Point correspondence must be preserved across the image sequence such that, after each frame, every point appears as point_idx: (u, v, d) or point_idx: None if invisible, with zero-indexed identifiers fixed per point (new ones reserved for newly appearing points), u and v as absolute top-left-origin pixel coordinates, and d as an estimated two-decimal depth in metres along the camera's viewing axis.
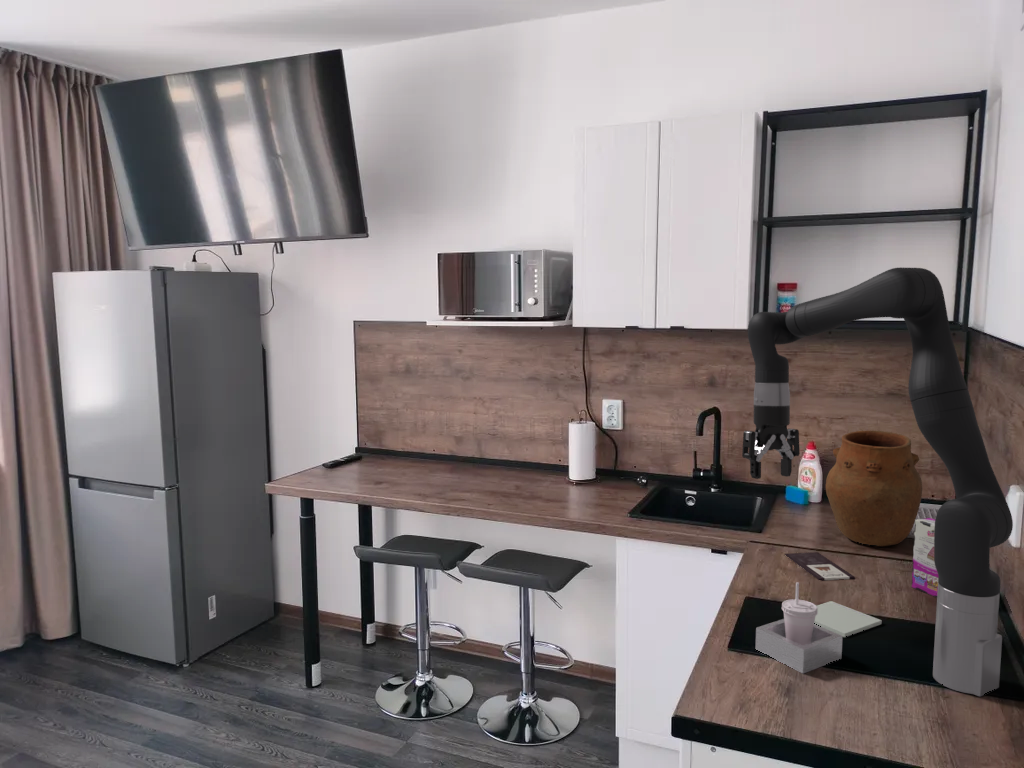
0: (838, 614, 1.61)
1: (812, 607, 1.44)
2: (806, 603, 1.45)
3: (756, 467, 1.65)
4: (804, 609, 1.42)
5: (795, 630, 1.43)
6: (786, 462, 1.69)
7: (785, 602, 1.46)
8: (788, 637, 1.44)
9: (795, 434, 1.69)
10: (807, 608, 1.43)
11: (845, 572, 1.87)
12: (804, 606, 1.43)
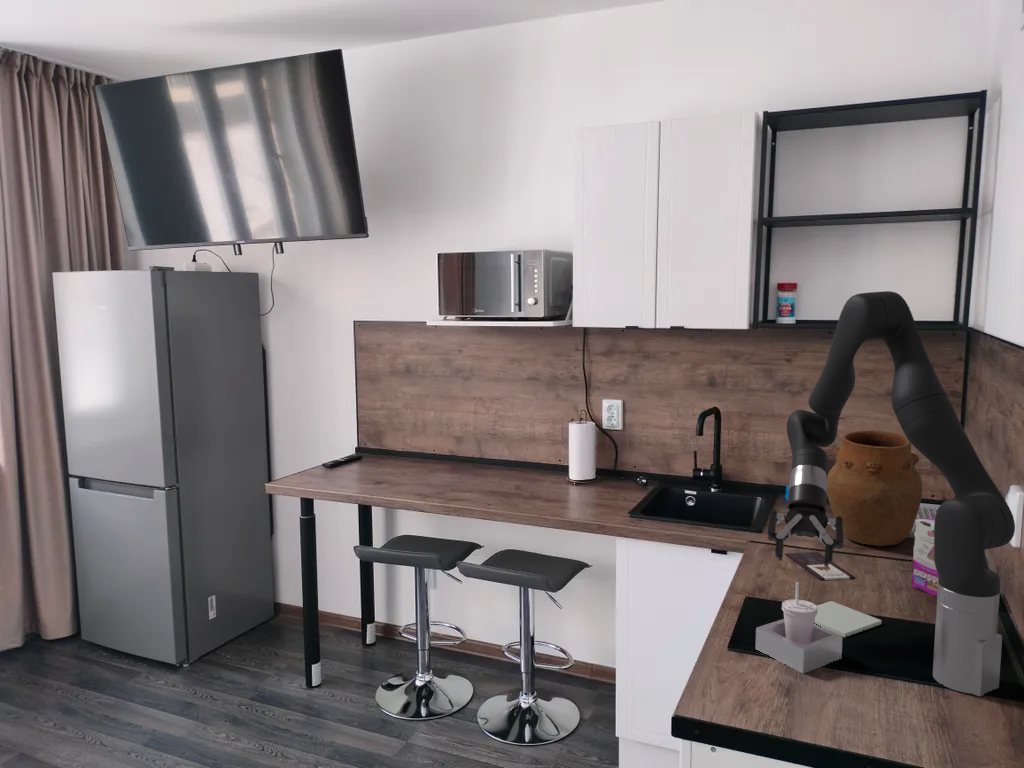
0: (838, 614, 1.61)
1: (812, 607, 1.44)
2: (806, 603, 1.45)
3: (778, 545, 1.54)
4: (804, 609, 1.42)
5: (795, 630, 1.43)
6: (825, 549, 1.51)
7: (785, 602, 1.46)
8: (788, 637, 1.44)
9: (837, 521, 1.54)
10: (807, 608, 1.43)
11: (845, 572, 1.87)
12: (804, 606, 1.43)
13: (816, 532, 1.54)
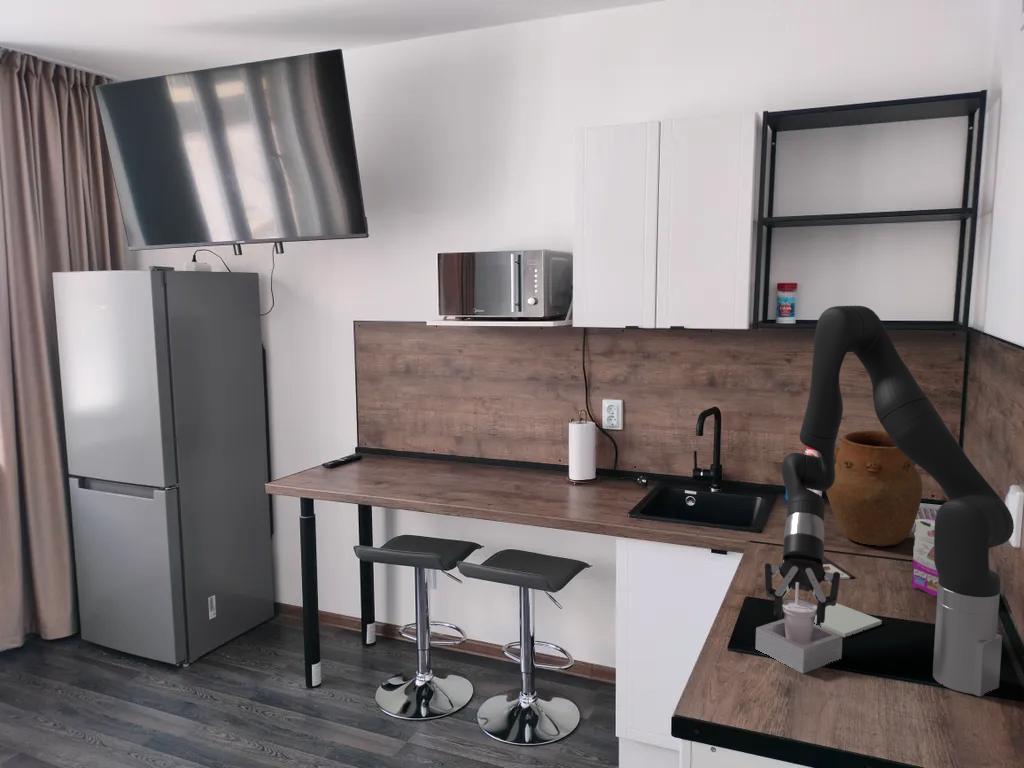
0: (838, 614, 1.61)
1: (812, 607, 1.44)
2: (806, 603, 1.45)
3: (776, 603, 1.45)
4: (804, 609, 1.42)
5: (795, 630, 1.43)
6: (817, 607, 1.43)
7: (785, 602, 1.46)
8: (788, 637, 1.44)
9: (834, 576, 1.45)
10: (807, 608, 1.43)
11: (845, 572, 1.87)
12: (804, 606, 1.43)
13: (810, 586, 1.46)
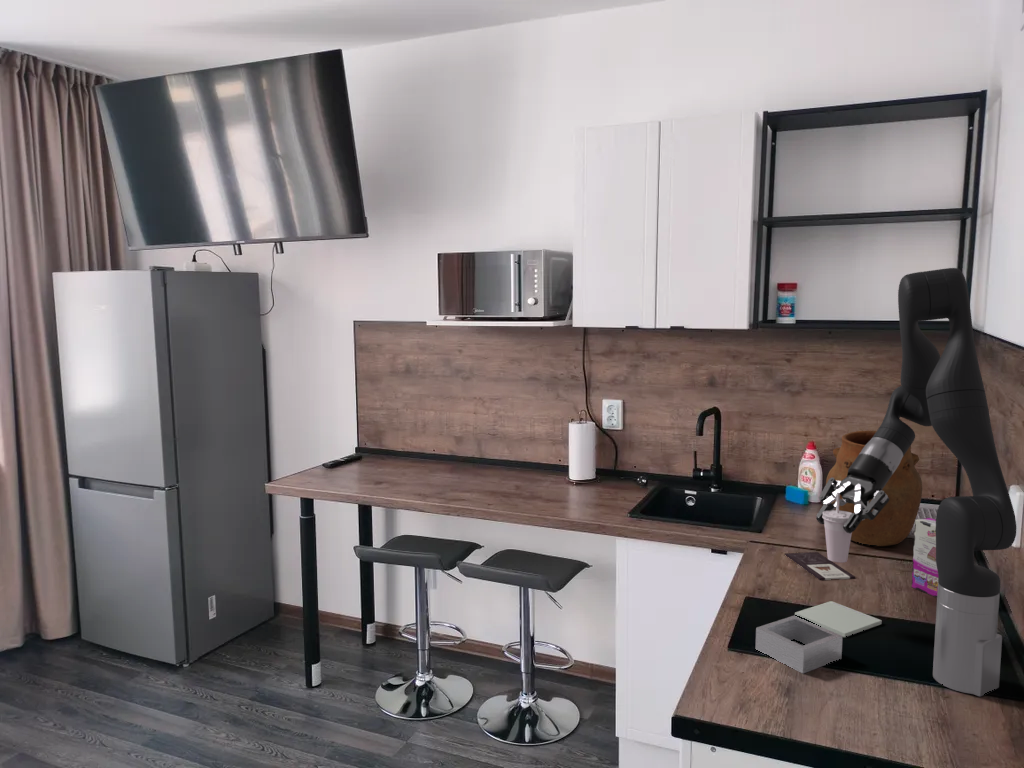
0: (838, 614, 1.61)
1: (848, 516, 1.56)
2: (849, 514, 1.57)
3: (822, 509, 1.61)
4: (836, 516, 1.56)
5: (827, 533, 1.57)
6: None
7: (831, 510, 1.60)
8: (826, 540, 1.59)
9: (878, 494, 1.54)
10: (841, 516, 1.56)
11: (845, 572, 1.87)
12: (840, 514, 1.57)
13: None
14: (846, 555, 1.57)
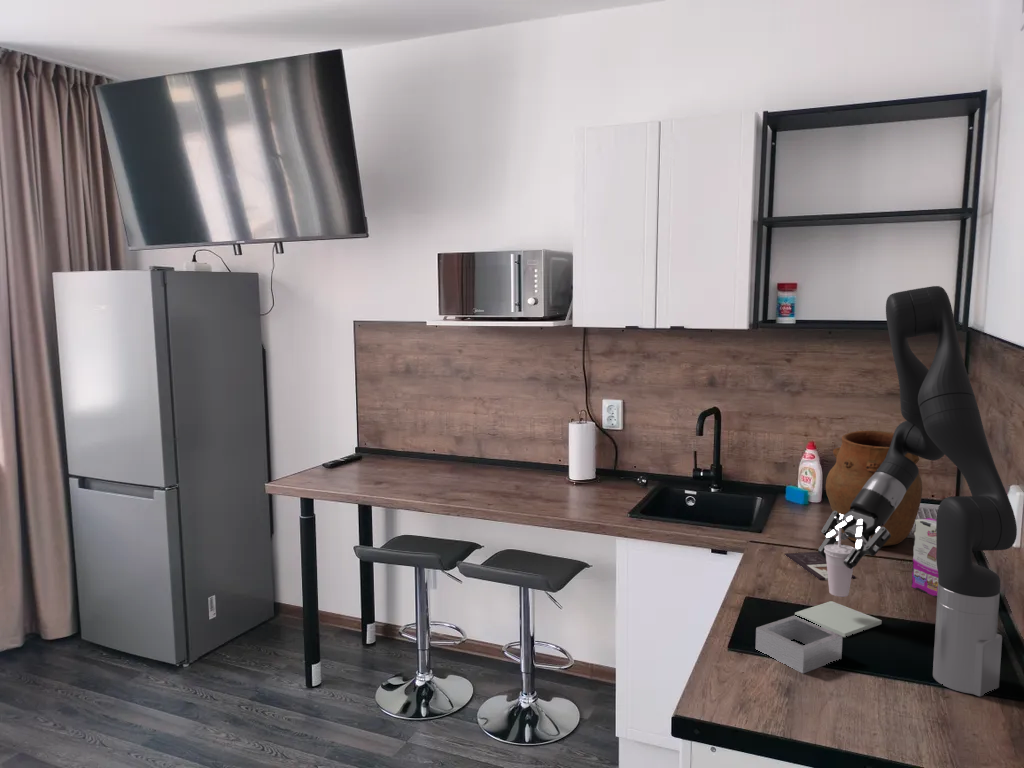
0: (838, 614, 1.61)
1: (850, 551, 1.57)
2: (851, 549, 1.59)
3: (824, 543, 1.62)
4: (838, 550, 1.58)
5: (829, 567, 1.59)
6: None
7: (833, 544, 1.62)
8: None
9: (879, 530, 1.55)
10: (842, 551, 1.57)
11: None
12: (842, 549, 1.58)
13: None
14: (847, 589, 1.58)
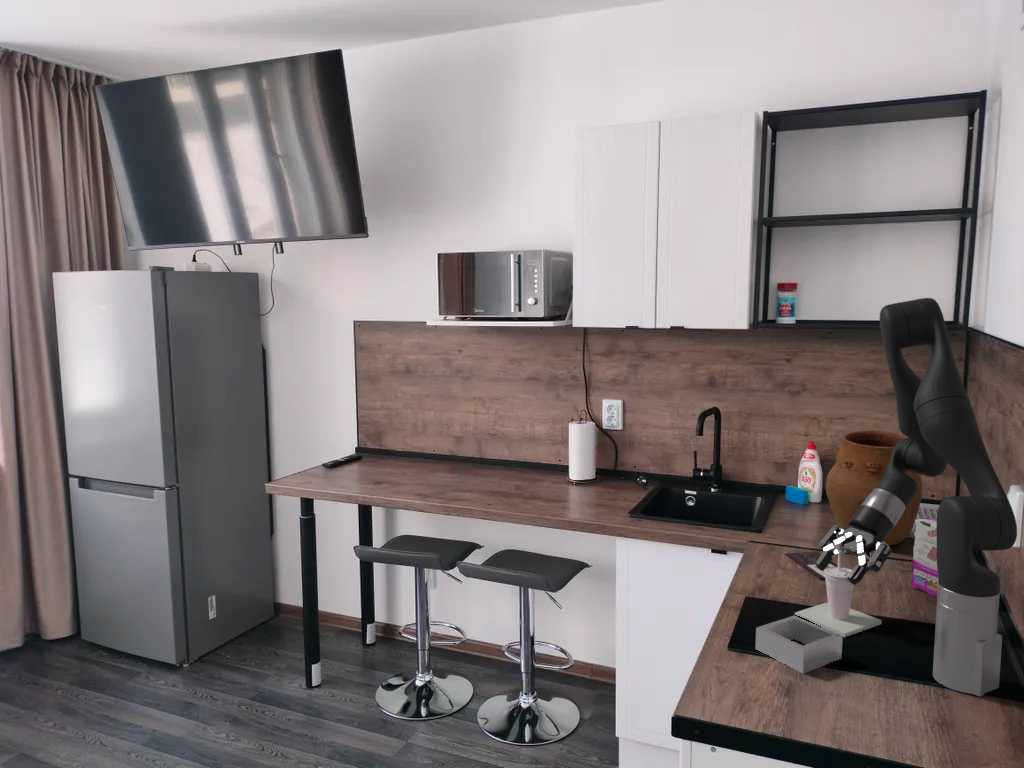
0: None
1: None
2: None
3: None
4: (837, 574, 1.58)
5: (828, 591, 1.59)
6: None
7: (833, 567, 1.62)
8: (827, 597, 1.61)
9: (880, 545, 1.55)
10: (842, 574, 1.58)
11: None
12: (841, 572, 1.58)
13: None
14: (847, 613, 1.59)
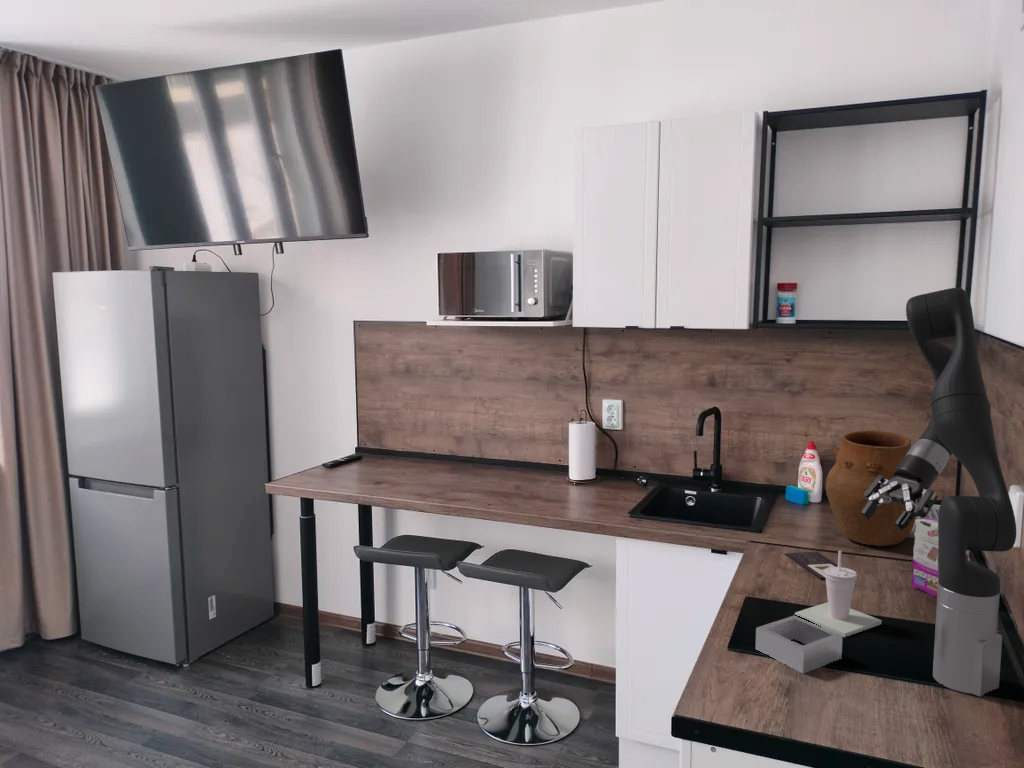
0: None
1: (849, 575, 1.58)
2: (851, 572, 1.59)
3: (867, 505, 1.68)
4: (838, 574, 1.58)
5: (829, 591, 1.59)
6: None
7: (833, 567, 1.62)
8: None
9: (926, 492, 1.59)
10: (842, 574, 1.58)
11: None
12: (842, 572, 1.58)
13: None
14: (847, 613, 1.59)
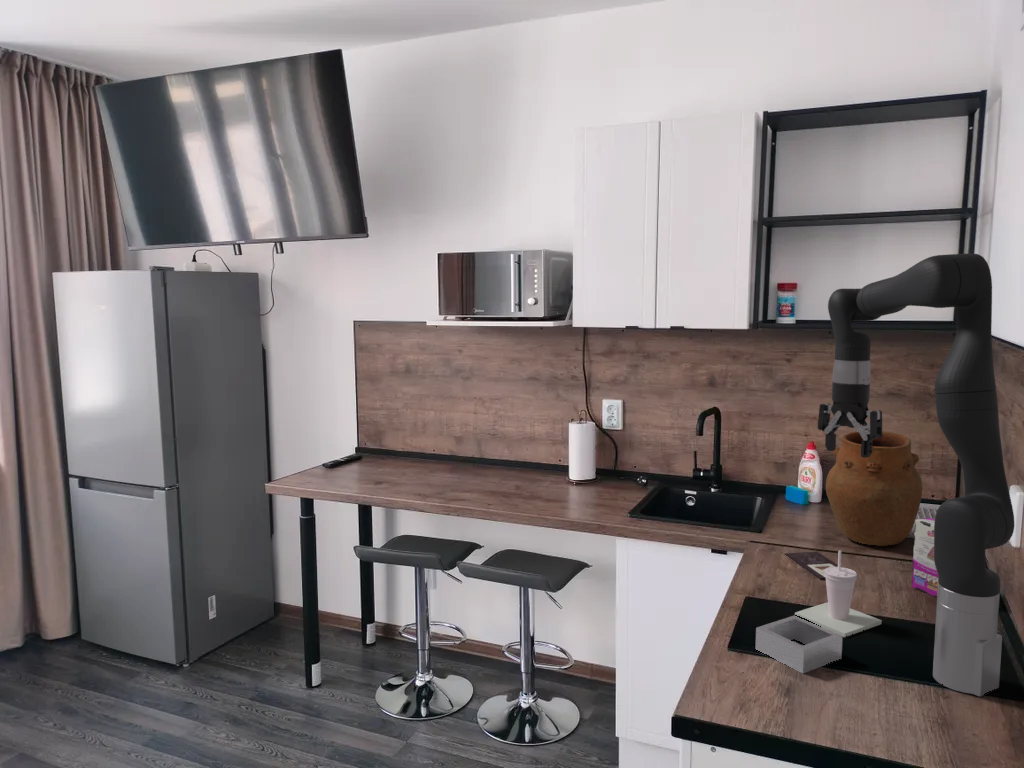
0: None
1: (849, 575, 1.58)
2: (851, 572, 1.59)
3: (827, 439, 1.72)
4: (838, 574, 1.58)
5: (828, 590, 1.59)
6: None
7: (833, 567, 1.62)
8: None
9: (871, 416, 1.62)
10: (842, 574, 1.58)
11: None
12: (841, 572, 1.58)
13: None
14: (847, 613, 1.59)
